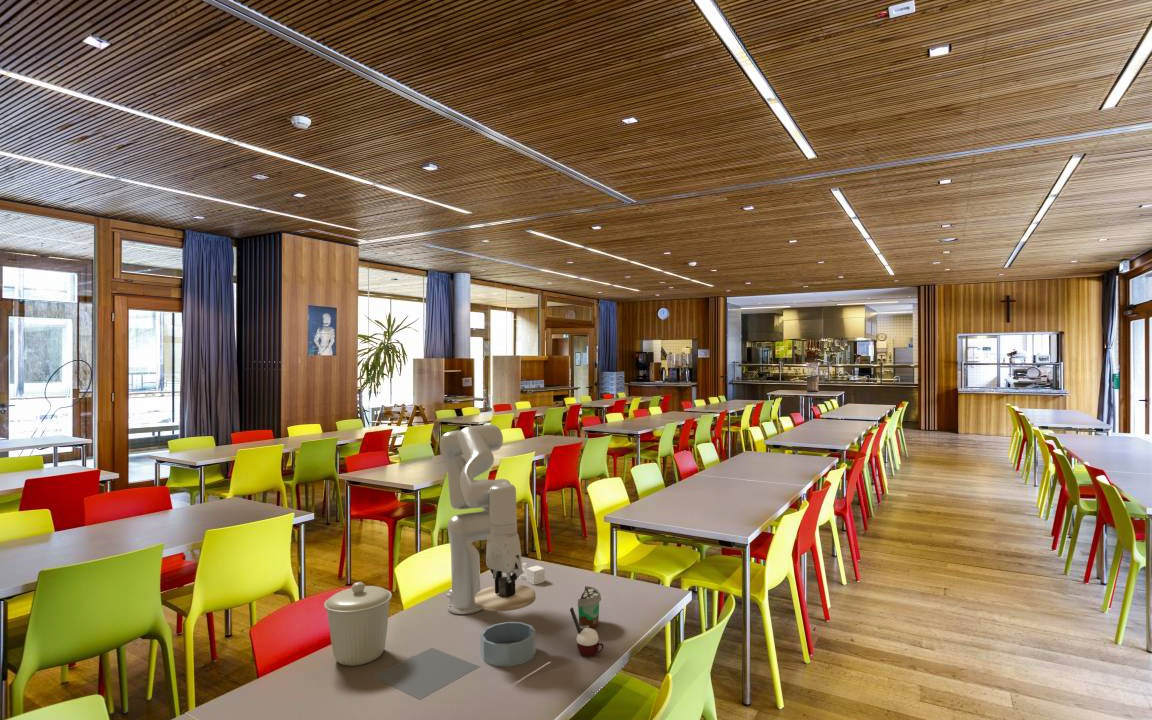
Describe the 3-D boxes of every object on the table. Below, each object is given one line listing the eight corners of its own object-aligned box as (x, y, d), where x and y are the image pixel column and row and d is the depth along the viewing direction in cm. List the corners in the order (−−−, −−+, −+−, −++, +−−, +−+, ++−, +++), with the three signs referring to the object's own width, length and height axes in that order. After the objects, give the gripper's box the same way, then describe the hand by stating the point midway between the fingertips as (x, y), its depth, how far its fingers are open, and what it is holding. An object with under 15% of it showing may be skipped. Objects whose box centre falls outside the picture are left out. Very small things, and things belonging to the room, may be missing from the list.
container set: (545, 582, 229) (544, 568, 229) (533, 586, 225) (533, 571, 226) (517, 569, 245) (516, 556, 245) (506, 572, 241) (505, 559, 241)
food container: (598, 634, 182) (597, 600, 182) (578, 633, 183) (577, 599, 183) (604, 617, 194) (604, 586, 194) (586, 616, 195) (585, 585, 195)
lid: (462, 602, 169) (461, 581, 169) (504, 584, 182) (504, 565, 183) (505, 616, 159) (505, 594, 159) (547, 596, 172) (547, 575, 172)
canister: (367, 676, 160) (365, 596, 160) (310, 669, 165) (309, 591, 166) (405, 646, 177) (404, 574, 178) (353, 640, 182) (351, 570, 183)
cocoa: (606, 655, 169) (607, 612, 169) (591, 663, 164) (592, 618, 164) (581, 644, 175) (582, 602, 176) (566, 651, 171) (567, 608, 171)
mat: (371, 677, 159) (371, 676, 159) (431, 648, 175) (431, 647, 175) (419, 701, 147) (419, 699, 147) (480, 667, 163) (480, 666, 163)
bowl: (470, 657, 169) (469, 636, 169) (507, 638, 181) (507, 618, 181) (509, 672, 160) (508, 649, 160) (546, 651, 172) (545, 629, 172)
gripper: (473, 527, 173) (475, 592, 173) (515, 535, 163) (517, 604, 162) (492, 521, 179) (494, 584, 179) (534, 529, 169) (536, 596, 168)
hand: (505, 593), depth 171 cm, fingers closed on lid, 3 cm apart
